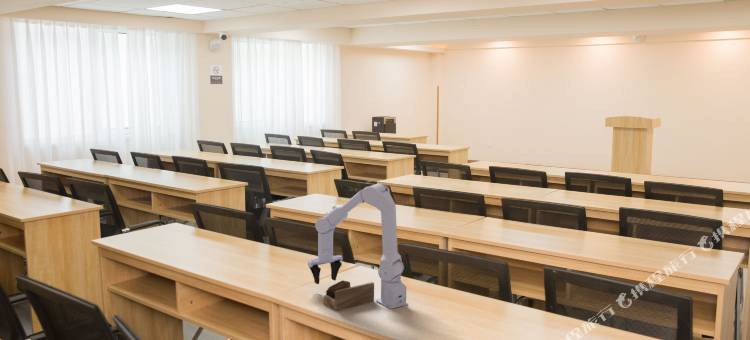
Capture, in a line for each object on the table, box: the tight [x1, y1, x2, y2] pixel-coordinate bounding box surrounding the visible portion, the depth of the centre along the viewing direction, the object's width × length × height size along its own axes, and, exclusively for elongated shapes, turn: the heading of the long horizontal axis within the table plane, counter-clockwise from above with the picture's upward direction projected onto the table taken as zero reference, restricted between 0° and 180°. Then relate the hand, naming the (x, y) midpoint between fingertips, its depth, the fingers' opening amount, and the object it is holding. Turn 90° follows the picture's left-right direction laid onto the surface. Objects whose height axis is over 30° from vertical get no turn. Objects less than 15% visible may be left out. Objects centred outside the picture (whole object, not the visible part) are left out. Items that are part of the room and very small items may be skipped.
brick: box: [325, 280, 351, 299], centre depth 222 cm, size 11×4×5 cm, turn 148°
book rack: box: [323, 281, 375, 312], centre depth 215 cm, size 9×16×7 cm, turn 127°
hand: (325, 281), depth 228 cm, fingers open, 7 cm apart
